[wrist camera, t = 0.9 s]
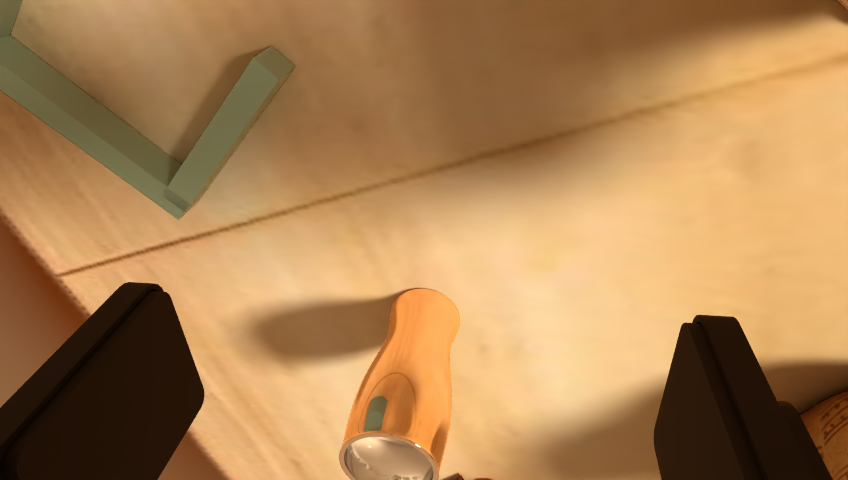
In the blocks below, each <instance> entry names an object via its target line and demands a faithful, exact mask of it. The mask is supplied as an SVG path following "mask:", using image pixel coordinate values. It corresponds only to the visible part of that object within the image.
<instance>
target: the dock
mask: <svg viewBox="0 0 848 480" xmlns="http://www.w3.org/2000/svg"><path fill="white" fill-rule="evenodd" d="M21 3H22V0H0V90H1V91H2V92H3V93H5V94H6V95H8V96H9V97H10V98H12V99H13V100H14V101H16V102H17V103H19V104H20V105H21V106H23V107H24V108H25V109H27V110H28V111H30V112H31V113H32V114H34V115H35V116H36V117H38V118H39V119H41V120H42V121H43V122H45V123H46V124H47V125H49V126H50V127H52V128H53V129H54V130H56V131H57V132H58V133H60V134H61V135H63V136H64V137H65V138H67V139H68V140H69V141H71V142H72V143H74V144H75V145H76V146H78V147H79V148H80V149H82V150H83V151H85V152H86V153H87V154H89V155H90V156H92V157H93V158H94V159H96V160H97V161H98V162H100V163H101V164H103V165H104V166H105V167H107V168H108V169H109V170H111V171H112V172H114V173H115V174H116V175H118V176H119V177H120V178H122V179H123V180H125V181H126V182H127V183H129V184H130V185H131V186H133V187H134V188H136V189H137V190H138V191H140V192H141V193H142V194H144V195H145V196H147V197H148V198H149V199H151V200H152V201H153V202H155V203H156V204H158V205H159V206H160V207H162V208H163V209H164V210H166V211H167V212H169V213H170V214H171V215H173V216H174V217H175V218H177V219H178V220H179V219H180V218H181V217H182V216H183V215H184V214H185V213H186V212H187V211H188V210H190V209H191V208H192V207H193V206H194V205H195V204H196V203H197V202H198V201H199V199H200V198H201V196H202V195H203V194H204V192H205V191H206V190H207V188H208V187H209V185H210V184H211V183H212V181H213V180H214V178H215V177H216V176H217V174H218V173H219V172H220V170H221V169H222V167H223V166H224V165H225V163H226V162H227V160H228V159H229V158H230V156H231V155H232V154H233V152H234V151H235V149H236V148H237V147H238V145H239V144H240V142H241V141H242V140H243V138H244V137H245V136H246V134H247V133H248V131H249V130H250V129H251V127H252V126H253V124H254V123H255V122H256V120H257V119H258V118H259V116H260V115H261V113H262V112H263V111H264V109H265V108H266V106H267V105H268V104H269V102H270V101H271V100H272V98H273V97H274V95H275V94H276V93H277V91H278V90H279V88H280V87H281V86H282V84H283V83H284V82H285V80H286V79H287V77H288V76H289V75H290V73H291V72H292V70H293V69H294V68H295V65H293V64H292V63H291V62H290V61H289V60H288V59H286V58H285V57H284V56H283V55H282V54H281V53H279V52H278V51H277V50H276V49H275V48H274V47H272V46H270V47H269V48H267V49H266V50H264V51H263V52H261V53H260V54H258V55H256V56H255V57H253V59H252V60H251V62H250V63H249V65H248V66H247V68H246V69H245V71H244V72H243V74H242V75H241V77H240V78H239V80H238V81H237V83H236V84H235V86H234V87H233V89H232V90H231V92H230V93H229V95H228V96H227V98H226V99H225V101H224V102H223V104H222V105H221V107H220V108H219V110H218V111H217V113H216V114H215V116H214V117H213V119H212V120H211V122H210V123H209V125H208V126H207V128H206V129H205V131H204V132H203V134H202V135H201V137H200V138H199V140H198V141H197V143H196V144H195V146H194V147H193V149H192V150H191V152H190V153H189V155H188V156H187V158H186V159H185V161H184V163H183V164H182V165H181V164H180V163H178V162H177V161H176V160H174V159H173V158H172V157H170V156H169V155H168V154H166V153H165V152H164V151H162V150H161V149H160V148H159V147H157V146H156V145H155V144H153V143H152V142H151V141H149V140H148V139H147V138H145V137H144V136H143V135H141V134H140V133H139V132H137V131H136V130H135V129H133V128H132V127H131V126H129V125H128V124H127V123H125V122H124V121H123V120H122V119H120V118H119V117H118V116H116V115H115V114H114V113H112V112H111V111H110V110H108V109H107V108H106V107H104V106H103V105H102V104H100V103H99V102H98V101H96V100H95V99H94V98H92V97H91V96H90V95H88V94H87V93H86V92H84V91H83V90H82V89H81V88H79V87H78V86H77V85H75V84H74V83H73V82H71V81H70V80H69V79H67V78H66V77H65V76H63V75H62V74H61V73H59V72H58V71H57V70H55V69H54V68H53V67H51V66H50V65H49V64H47V63H46V62H45V61H44V60H42V59H41V58H40V57H38V56H37V55H36V54H34V53H33V52H32V51H30V50H29V49H28V48H26V47H25V46H24V45H22V44H21V43H20V42H18V41H17V40H16V39H14V38H13V37H12V36H10V34H11V31H12V28H13V25H14V22H15V20H16V17H17V14H18V11H19V9H20V6H21Z"/></svg>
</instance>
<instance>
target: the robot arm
mask: <svg viewBox="0 0 848 480" xmlns="http://www.w3.org/2000/svg"><path fill="white" fill-rule="evenodd" d="M837 1H838V2H840V3H841V4H842V5H843V6H844V7H845V8H847V9H848V0H837ZM203 401H204V388H203V385H202V382H201V380H200V377H199V374H198V371H197V369H196V366H195V363H194V360H193V358H192V355H191V352H190V349H189V346H188V344H187V341H186V338H185V335H184V333H183V330H182V327H181V324H180V322H179V319H178V316H177V313H176V311H175V308H174V305H173V302H172V300H171V297H170V295H169V294H168V293H167V292H164V291H163V289H162V287H160V286H159V285H158V284H151V283H134V282H128V283H124V284H123V285H121V286H120V287H119V288H118V289H117V290H116V291H115V292H114V293H113V294H112V295H111V296H110V297H109V298H108V299H107V300H106V301H105V302H104V303H103V304H102V305H101V306H100V307H99V308H98V309H97V310H96V311H95V312H94V313H93V314H92V315H91V316H90V317H89V318H88V319H87V321H86V322H85V323H84V324H83V325H82V326H81V327H80V328H79V329H78V330H77V331H76V332H75V333H74V334H73V335H72V336H71V337H70V338H69V339H68V340H67V341H66V342H65V343H64V344H63V345H62V346H61V347H60V348H59V349H58V350H57V351H56V352H55V353H54V354H53V355H52V356H51V357H50V358H49V359H48V360H47V361H46V362H45V363H44V364H43V365H42V366H41V367H40V368H39V369H38V370H37V371H36V372H35V373H34V374H33V375H32V376H31V377H30V378H29V379H28V380H27V381H26V382H25V383H24V384H23V386H21V388H19V389H18V390H17V392H16V393H15V394H14V395H13V396H12V397H11V398H10V399H9V400H8V401H7V402H6V403H5V404H4V405H3V406H2V407H1V408H0V480H157V479H158V478H159V476H160V475H161V473H162V471H163V470H164V468H165V466H166V465H167V463H168V461H169V460H170V458H171V456H172V455H173V453H174V451H175V450H176V448H177V446H178V445H179V443H180V441H181V440H182V438H183V437H184V435H185V433H186V432H187V430H188V428H189V427H190V425H191V424H192V422H193V420H194V419H195V417H196V415H197V414H198V412H199V410H200V409H201V407H202V404H203ZM654 447H655V452H656V457H657V461H658V465H659V470H660V474H661V478H662V480H833V479H832V477H831V475H830V473H829V471H828V469H827V467H826V465H825V463H824V461H823V459H822V457H821V455H820V453H819V451H818V450H817V448H816V446H815V444H814V442H813V440H812V438H811V436H810V434H809V432H808V430H807V428H806V426H805V424H804V422H803V420H802V418H801V416H800V415H799V413H798V412H797V410H796V409H795V407H794V406H792V405H791V404H790V403H789V402H784V401H777V400H776V398H775V396H774V394H773V392H772V390H771V388H770V386H769V384H768V382H767V380H766V377H765V375H764V373H763V371H762V369H761V367H760V365H759V363H758V361H757V359H756V357H755V355H754V353H753V351H752V349H751V346H750V344H749V342H748V340H747V338H746V336H745V334H744V332H743V330H742V328H741V326H740V324H739V322H738V321H737V319H736V318H734V317H726V316H709V315H697V316H696V317H695V318H694V320H693V322H692V323H683V325H682V326H681V329H680V333H679V337H678V340H677V344H676V348H675V352H674V356H673V359H672V363H671V367H670V371H669V375H668V379H667V382H666V386H665V390H664V394H663V398H662V401H661V405H660V409H659V413H658V417H657V421H656V424H655V429H654Z"/></svg>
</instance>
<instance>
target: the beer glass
mask: <svg viewBox="0 0 848 480" xmlns="http://www.w3.org/2000/svg"><path fill="white" fill-rule="evenodd" d="M460 321H461V319H460V313H459V310H458V308H457V307H456V305H455V304H454V303H453V301H452V300H450V299H449V298H448V297H447V296H445V295H443V294H442V293H439V292H437V291H434V290H430V289H413V290H409V291H406V292H404V293H402V294H401V295H400V296H398V297H397V298H396V300H395V301H394V303H393V305H392V307H391V311H390V325H389V332H388V335H387V338H386V340H385V342H384V344H383V345H382V347H381V349H380V351H379V352H378V354H377V355H376V357H375V359H374V360H373V362H372V364H371V365H370V367H369V369H368V370H367V372H366V374H365V376H364V378H363V380H362V382H361V384H360V386H359V389H358V391H357V394H356V397H355V399H354V402H353V405H352V409H351V412H350V415H349V419H348V423H347V427H346V431H345V436H344V440H343V444H342V448H341V450H340V454H339V461H340V464H341V467H342V469H343V471H344V472H345V474H346V475H347V476H348V477H349V478H350V479H351V480H438V477H439V470H440V466H441V463H442V459H443V455H444V451H445V447H446V443H447V438H448V433H449V428H450V420H451V412H452V383H451V367H450V350H451V346H452V343H453V341H454V339H455V337H456V334H457V332H458V330H459V327H460Z"/></svg>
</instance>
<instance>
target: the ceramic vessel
mask: <svg viewBox="0 0 848 480" xmlns="http://www.w3.org/2000/svg"><path fill="white" fill-rule="evenodd" d="M800 416H801V418H802V420H803V422H804V424H805V426H806V428H807V430H808V432H809V434H810V436H811V438H812V440H813V442H814V444H815V446H816V448H817V450H818V451H819V453H820V455H821V457H822V459H823V461H824V463H825V465H826V467H827V469H828V471H829V473H830V475H831V477H832V479H833V480H848V391H845V392H842V393H839V394H836V395H834V396H832V397H829V398H827V399H825V400H824V401H822V402H820V403H819V404H817V405H816V406H814V407H812V408H811V409H809V410H808V411H806V412H805V413H803V414H801V415H800Z"/></svg>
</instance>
